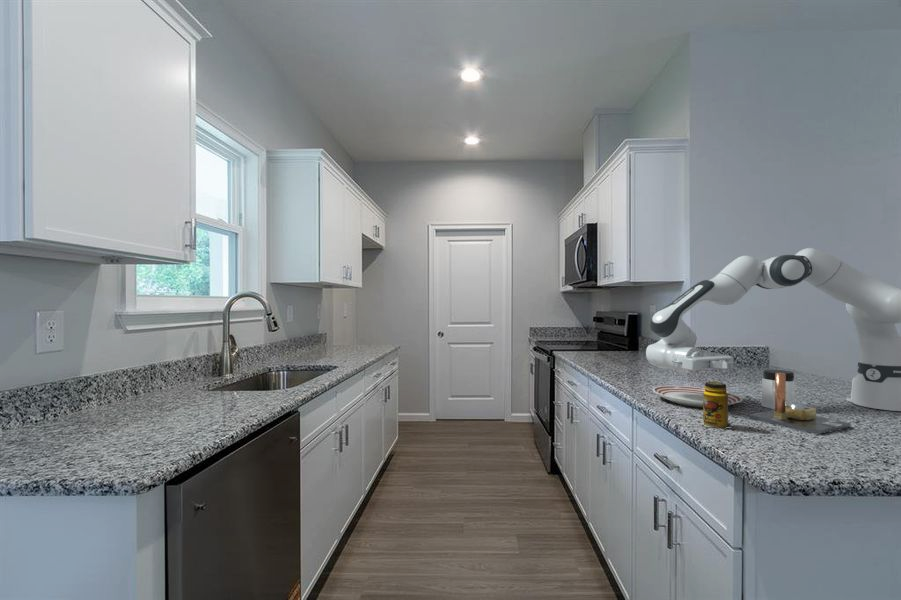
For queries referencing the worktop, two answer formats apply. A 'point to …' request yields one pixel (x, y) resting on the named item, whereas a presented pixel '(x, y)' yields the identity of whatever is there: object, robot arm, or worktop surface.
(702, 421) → the condiment
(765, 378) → the jar
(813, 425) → the post base
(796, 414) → the copper and beige l-shape
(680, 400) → the dinner plate
